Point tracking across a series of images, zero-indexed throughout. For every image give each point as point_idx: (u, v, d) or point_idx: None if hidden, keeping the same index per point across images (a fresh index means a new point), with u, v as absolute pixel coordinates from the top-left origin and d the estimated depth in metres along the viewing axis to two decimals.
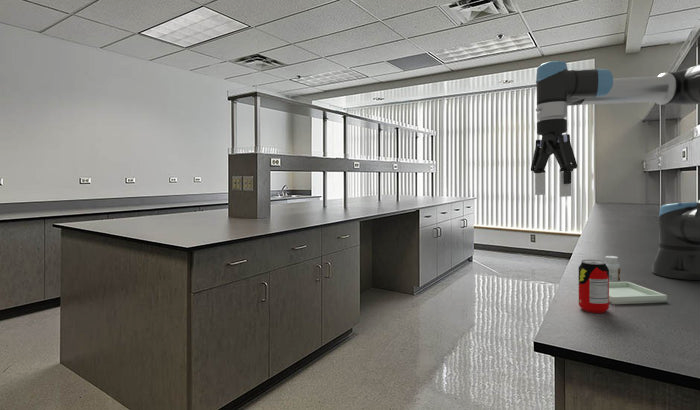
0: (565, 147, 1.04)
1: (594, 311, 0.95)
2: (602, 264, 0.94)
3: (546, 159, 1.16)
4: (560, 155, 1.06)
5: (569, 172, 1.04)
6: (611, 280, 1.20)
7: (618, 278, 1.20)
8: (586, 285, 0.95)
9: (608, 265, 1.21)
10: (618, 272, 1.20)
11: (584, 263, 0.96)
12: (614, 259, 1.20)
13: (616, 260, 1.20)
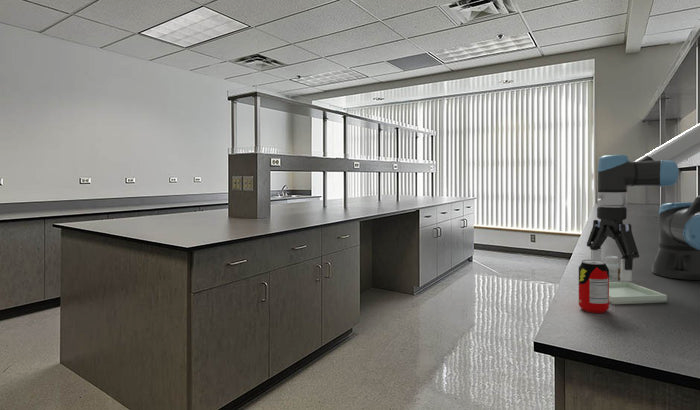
0: (627, 236, 1.14)
1: (594, 311, 0.95)
2: (602, 264, 0.94)
3: (603, 239, 1.26)
4: (621, 242, 1.16)
5: (630, 260, 1.14)
6: (611, 280, 1.20)
7: (618, 278, 1.20)
8: (586, 285, 0.95)
9: (608, 265, 1.21)
10: (618, 272, 1.20)
11: (584, 263, 0.96)
12: (614, 259, 1.20)
13: (616, 260, 1.20)
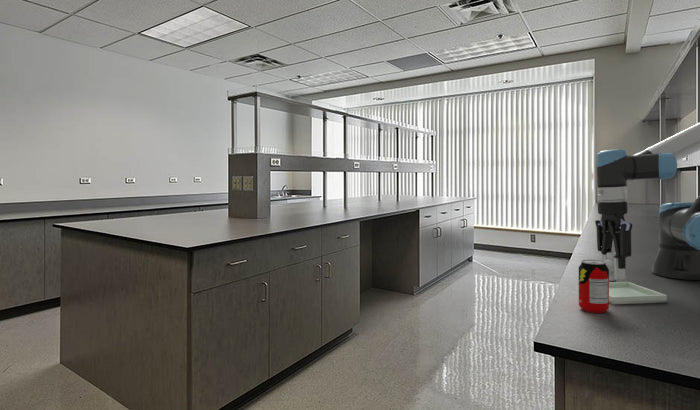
0: (625, 236, 1.15)
1: (594, 311, 0.95)
2: (602, 264, 0.94)
3: (611, 238, 1.23)
4: (618, 240, 1.18)
5: (623, 259, 1.18)
6: (613, 276, 1.20)
7: None
8: (586, 285, 0.95)
9: (610, 261, 1.21)
10: None
11: (584, 263, 0.96)
12: None
13: None
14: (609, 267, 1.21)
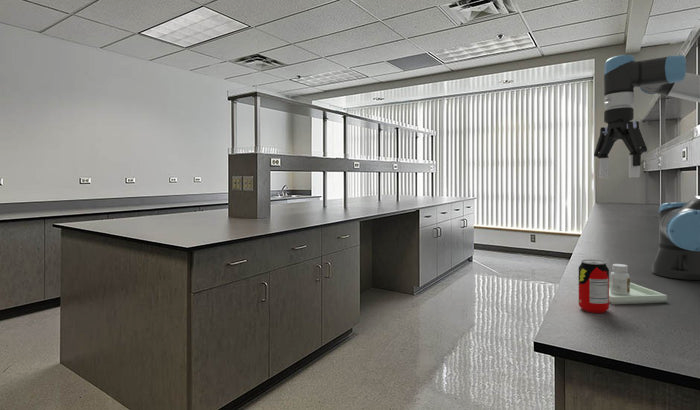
0: (635, 132, 1.15)
1: (594, 311, 0.95)
2: (602, 264, 0.94)
3: (611, 145, 1.27)
4: (629, 140, 1.18)
5: (638, 155, 1.15)
6: (619, 292, 1.06)
7: (627, 289, 1.06)
8: (586, 285, 0.95)
9: (616, 275, 1.07)
10: (627, 283, 1.06)
11: (584, 263, 0.96)
12: (623, 268, 1.06)
13: (625, 269, 1.06)
14: (615, 281, 1.07)
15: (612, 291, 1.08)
